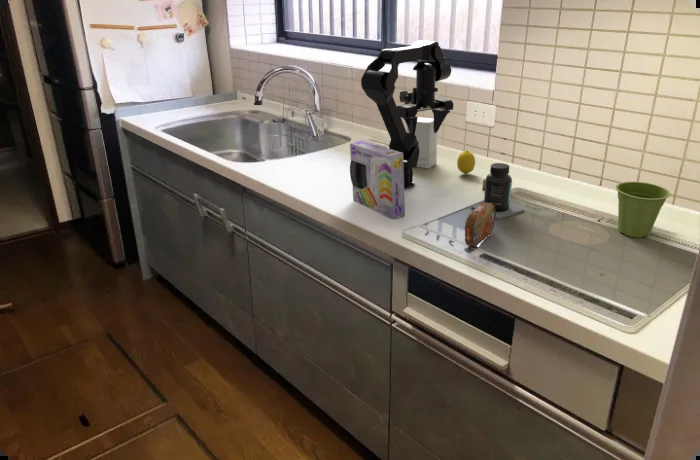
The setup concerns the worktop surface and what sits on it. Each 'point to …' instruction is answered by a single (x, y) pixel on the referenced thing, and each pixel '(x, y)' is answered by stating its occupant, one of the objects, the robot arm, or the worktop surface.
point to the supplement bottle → (498, 187)
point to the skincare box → (426, 142)
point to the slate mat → (509, 212)
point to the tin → (480, 223)
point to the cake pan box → (378, 178)
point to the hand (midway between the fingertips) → (423, 134)
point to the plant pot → (639, 207)
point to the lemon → (466, 162)
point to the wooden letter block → (484, 184)
